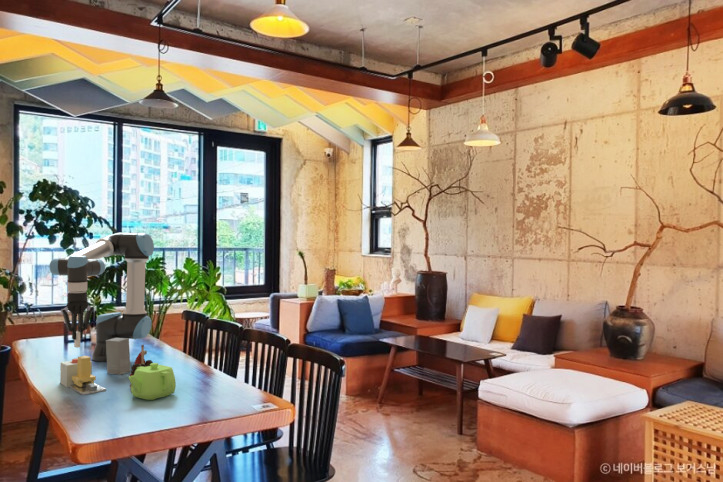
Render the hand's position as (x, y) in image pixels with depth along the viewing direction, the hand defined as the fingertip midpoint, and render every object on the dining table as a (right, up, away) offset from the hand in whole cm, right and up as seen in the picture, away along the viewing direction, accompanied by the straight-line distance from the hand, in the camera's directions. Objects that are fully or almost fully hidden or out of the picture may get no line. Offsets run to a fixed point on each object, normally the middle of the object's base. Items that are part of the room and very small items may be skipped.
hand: (77, 346), depth 235 cm
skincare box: (+9, -16, +18) cm, 26 cm away
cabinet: (0, -15, 0) cm, 15 cm away
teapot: (+38, -17, -19) cm, 45 cm away
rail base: (+9, -16, -9) cm, 20 cm away
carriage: (+6, -14, -6) cm, 17 cm away
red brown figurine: (+30, -16, -6) cm, 34 cm away
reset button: (0, -10, 0) cm, 10 cm away
